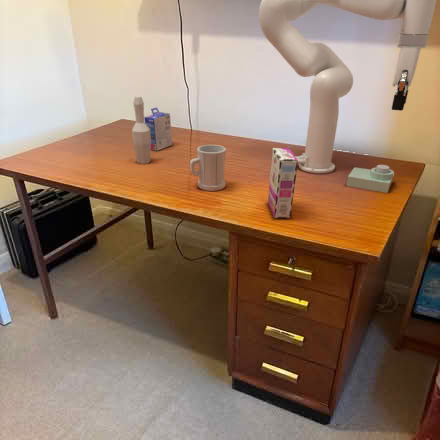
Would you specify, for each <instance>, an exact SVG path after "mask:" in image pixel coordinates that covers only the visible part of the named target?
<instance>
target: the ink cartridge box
mask: <svg viewBox="0 0 440 440" xmlns="http://www.w3.org/2000/svg"><path fill="white" fill-rule="evenodd" d="M150 110H151V113H152V114H150V115H147V116H144V122H145V123H146V125H147V126H148V127H149V129H150V135H151V151H155V152H157V151H160V150H162V149H166V148H169V147H170V146H172V145H173V137H172V135H173V134H172V124H171V123H172V121H171V113H168V112H163V111H160V110H159V109H158V107H152V108H150Z"/></svg>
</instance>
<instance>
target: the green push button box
mask: <svg viewBox="0 0 440 440" xmlns="http://www.w3.org/2000/svg"><path fill="white" fill-rule="evenodd" d="M376 167H377V166H375V167H372V168H371V169H369V168H363V167H357V166H356V167H353V169H352V170H351V171H350V173H349V174H348V176H347V179H346V184H345V185H346V187H351V188H357V189H361V190H362V189H363V190H368V191H375V192H380V193H386V194H388V193H389V191H390V188H391V186H392V184H393V182H394V178H395V171H394V170H393V169H391V168H390V169H389V173H378V172H376Z"/></svg>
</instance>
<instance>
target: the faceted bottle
mask: <svg viewBox="0 0 440 440" xmlns="http://www.w3.org/2000/svg"><path fill="white" fill-rule="evenodd" d="M133 108H134V115H135V123H134V124H133V127H132V129H131V137H132V144H133V149H134V153H135V157H136V162H137V163H138V164H139V165H140V164H142V165H145V164H149V163H150V162H151V151H152V150H151V135H150V129H149V127H148V126H147V125H146V123H145V118H144V117H145V102H144V99H143V97H142V96H141V95H136V96H134V97H133Z"/></svg>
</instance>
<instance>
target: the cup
mask: <svg viewBox="0 0 440 440" xmlns="http://www.w3.org/2000/svg"><path fill="white" fill-rule="evenodd" d="M196 152H197V157H196V158H192V159H191V160H190V161H189V169H190V173H191V174H192V175H193V176H194V177H197V176H198V181H197V186H198V188H199V189H200V190H203V191H207V192H217V191H221V190H223V189H224V188H225V187H226V180H225V167H226V166H225V165H226V153H227V148H226V147H225V146H223V145H219V144H203V145H200V146H198V147H197V148H196ZM197 164H198V170H196V169H195V166H196V165H197Z"/></svg>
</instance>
